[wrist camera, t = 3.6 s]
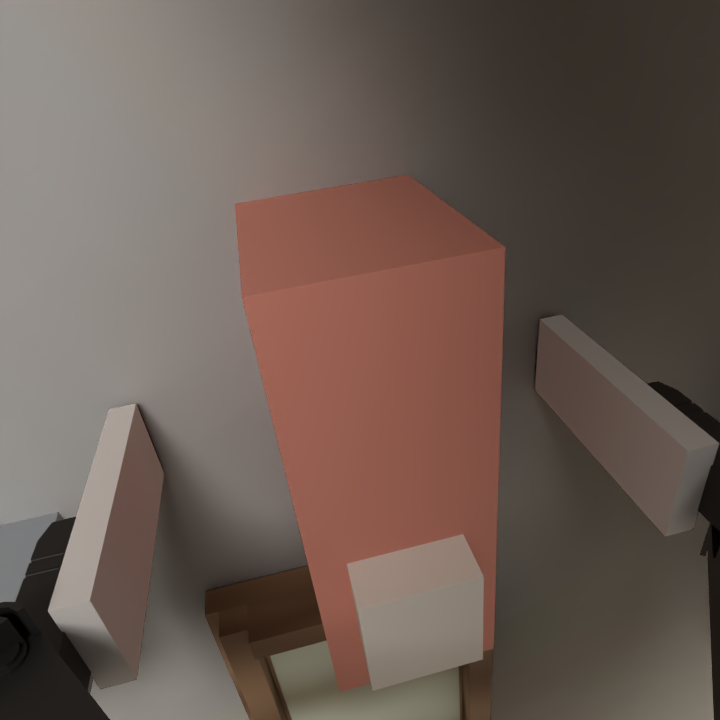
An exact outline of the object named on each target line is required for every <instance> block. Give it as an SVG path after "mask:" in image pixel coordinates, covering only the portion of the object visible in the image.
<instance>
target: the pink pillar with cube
mask: <svg viewBox="0 0 720 720" xmlns="http://www.w3.org/2000/svg"><path fill="white" fill-rule="evenodd" d="M235 207H236V221H237V235H238V249H239V262H240V276H241V290H242V299H243V303H244V307H245V311H246V315H247V319H248V323H249V327H250V331H251V336H252V340H253V344H254V348H255V352H256V356H257V360H258V364H259V368H260V372H261V376H262V380H263V384H264V388H265V392H266V396H267V400H268V404H269V408H270V413H271V417H272V421H273V425H274V429H275V433H276V437H277V441H278V445H279V449H280V453H281V457H282V461H283V465H284V469H285V473H286V477H287V481H288V485H289V490H290V494H291V498H292V502H293V506H294V510H295V514H296V518H297V522H298V526H299V530H300V534H301V538H302V542H303V546H304V550H305V554H306V558H307V562H308V567H309V571H310V575H311V579H312V583H313V587H314V591H315V595H316V599H317V603H318V607H319V611H320V615H321V619H322V623H323V627H324V631H325V635H326V639H327V644H328V648H329V652H330V656H331V660H332V664H333V668H334V672H335V676H336V680H337V684H338V688H339V692H342V691H346V690H349V689H353V688H357V687H360V686H364V685H367V684H371V686H372V690H373V691H374V690H378V689H381V688H385V687H388V686H392V685H395V684H399V683H402V682H406V681H409V680H413V679H416V678H420V677H423V676H427V675H430V674H434V673H437V672H441V671H444V670H448V669H451V668H455V667H458V666H462V665H465V664H469V663H472V662H476V661H479V660H483V651H487V650H490V649H494V626H495V591H496V557H497V523H498V488H499V454H500V419H501V385H502V351H503V316H504V282H505V246H503V245H502V244H501V243H499V242H498V241H497V240H495V239H494V238H493V237H491V236H490V235H489V234H487V233H486V232H485V231H483V230H482V229H480V228H479V227H478V226H476V225H475V224H474V223H472V222H471V221H470V220H468V219H467V218H466V217H464V216H463V215H462V214H460V213H459V212H458V211H456V210H455V209H454V208H452V207H451V206H450V205H448V204H447V203H446V202H444V201H443V200H442V199H440V198H439V197H438V196H436V195H435V194H433V193H432V192H431V191H429V190H428V189H427V188H425V187H424V186H423V185H421V184H420V183H419V182H417V181H416V180H415V179H413V178H412V177H411V176H409V175H403V176H398V177H392V178H386V179H380V180H374V181H368V182H362V183H356V184H350V185H344V186H338V187H332V188H326V189H321V190H315V191H309V192H303V193H297V194H291V195H285V196H279V197H273V198H267V199H261V200H255V201H249V202H244V203H238V204H235Z"/></svg>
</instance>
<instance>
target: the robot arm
mask: <svg viewBox="0 0 720 720" xmlns="http://www.w3.org/2000/svg"><path fill="white" fill-rule="evenodd" d="M535 390H536V391H537V393H538V394H539V395H540V396H541V397H542V398H543V399H544V401H545V402H546V403H547V404H548V405H549V406H550V407H551V408H552V410H553V411H554V412H555V413H556V414H557V415H558V416H559V417H560V419H561V420H562V421H563V422H564V423H565V424H566V425H567V427H568V428H569V429H570V430H571V431H572V432H573V433H574V434H575V436H576V437H577V438H578V439H579V440H580V441H581V442H582V443H583V445H584V446H585V447H586V448H587V449H588V450H589V451H590V453H591V454H592V455H593V456H594V457H595V458H596V459H597V460H598V462H599V463H600V464H601V465H602V466H603V467H604V468H605V469H606V471H607V472H608V473H609V474H610V475H611V476H612V477H613V479H614V480H615V481H616V482H617V483H618V484H619V485H620V486H621V488H622V489H623V490H624V491H625V492H626V493H627V494H628V495H629V497H630V498H631V499H632V500H633V501H634V502H635V503H636V505H637V506H638V507H639V508H640V509H641V510H642V511H643V512H644V514H645V515H646V516H647V517H648V518H649V519H650V520H651V521H652V523H653V524H654V525H655V526H656V527H657V528H658V529H659V531H660V532H661V533H662V534H663V535H664V536H665V537H666V536H670V535H674V534H678V533H681V532H685V531H689V530H693V529H694V525H695V522H696V519H697V515H698V512H700V513H701V514H702V515H703V516H704V517H705V518H706V519H707V520H708V521H709V522H710V525H709V528H708V531H707V534H706V537H705V540H704V543H703V546H702V550H701V553H700V555H703V556H705V555H706V553H707V551H708V577H709V603H710V629H711V655H712V681H713V707H714V720H720V423H719V422H718V421H717V420H715V419H714V418H713V417H712V416H710V415H709V414H708V413H704V412H703V410H702V409H701V408H700V407H699V406H697V405H696V404H695V403H693V404H692V401H691V400H690V399H688V398H687V397H686V396H684V395H683V394H682V393H681V392H679V391H678V390H676V389H674V388H672V387H670V386H667V385H665V384H663V383H660V382H658V381H657V382H652V383H648V384H646V383H645V382H644V381H643V380H641V379H640V378H639V377H638V376H637V375H635V374H634V373H633V372H632V371H630V370H629V369H628V368H627V367H626V366H624V365H623V364H622V363H621V362H619V361H618V360H617V359H616V358H615V357H613V356H612V355H611V354H610V353H608V352H607V351H606V350H605V349H604V348H602V347H601V346H600V345H599V344H597V343H596V342H595V341H594V340H593V339H591V338H590V337H589V336H588V335H586V334H585V333H584V332H583V331H582V330H580V329H579V328H578V327H577V326H575V325H574V324H573V323H572V322H571V321H569V320H568V319H567V318H566V317H564V316H563V315H557V316H552V317H547V318H543V319H540V322H539V337H538V352H537V366H536V381H535ZM163 478H164V472H163V469H162V467H161V464H160V462H159V459H158V457H157V454H156V452H155V449H154V447H153V444H152V442H151V439H150V437H149V434H148V432H147V430H146V427H145V425H144V422H143V420H142V417H141V415H140V412H139V410H138V407H137V405H136V404H131V405H127V406H122V407H117V408H112V409H109V411H108V414H107V417H106V421H105V424H104V427H103V430H102V434H101V437H100V440H99V444H98V447H97V450H96V453H95V457H94V460H93V463H92V467H91V470H90V473H89V476H88V480H87V483H86V486H85V490H84V493H83V496H82V500H81V503H80V506H79V509H78V513H77V516H76V517H73V518H68V519H64V520H60V521H55V522H52V523H51V525H50V526H49V527H48V528H47V529H46V531H45V532H44V533H43V534H42V536H41V537H40V538H39V539H38V541H37V543H36V546H35V549H34V552H33V554H32V557H31V563H29V565H28V568H27V571H26V573H25V576H26V577H25V578H24V579H23V582H22V584H21V587H20V590H19V593H18V595H17V598H16V601H15V602H1V603H0V720H110V719H109V718H108V717H107V715H106V714H105V713H104V712H103V710H102V709H101V708H100V706H99V705H98V704H97V703H96V701H95V700H94V699H93V697H92V696H91V695H90V694H89V692H88V686H89V681H90V676H92V678H93V679H94V681H95V682H96V684H97V685H98V687H99V688H100V689H103V688H107V687H111V686H114V685H118V684H122V683H125V682H129V681H133V680H136V679H137V675H138V667H139V660H140V652H141V645H142V637H143V629H144V622H145V614H146V607H147V599H148V592H149V584H150V577H151V569H152V561H153V554H154V546H155V539H156V531H157V524H158V516H159V509H160V501H161V494H162V486H163Z"/></svg>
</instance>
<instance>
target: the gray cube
mask: <svg viewBox="0 0 720 720" xmlns="http://www.w3.org/2000/svg"><path fill="white" fill-rule="evenodd" d="M60 520H63V519H62V518H61V516H60V514H59V512H57V513H53V514H49V515H44V516H40V517H36V518H31V519H27V520H23V521H18V522H14V523H10V524H5V525H1V526H0V603H1V602H15V601H16V598H17V595H18V593H19V590H20V587H21V584H22V582H23V579H24V578H25V577H26V576H25V573H26V571H27V568H28V565H29V563H31V557H32V554H33V552H34V549H35V546H36V543H37V541H38V539H39V538H40V537H41V536H42V534H43V533H44V532H45V531H46V529H47V528H48V527H49V526H50V525H51V523H52V522H55V521H60ZM92 682H93V678H92V676H90V681H89V686H88V692H89V694H90V692H91V687H92Z"/></svg>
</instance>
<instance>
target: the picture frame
mask: <svg viewBox="0 0 720 720" xmlns="http://www.w3.org/2000/svg"><path fill="white" fill-rule="evenodd" d="M205 617H206V619H207V621H208V624H209V626H210V628H211V631H212V633H213V635H214V638H215V640H216V642H217V645H218V647H219V649H220V651H221V654H222V656H223V658H224V661H225V663H226V665H227V668H228V670H229V672H230V675H231V677H232V679H233V682H234V684H235V686H236V689H237V691H238V693H239V696H240V698H241V700H242V703H243V705H244V707H245V710H246V712H247V714H248V717H249V719H250V720H491V696H492V662H493V649H490V650H487V651H483V660H479V661H476V662H472V663H469V664H465V665H462V666H458V667H455V668H451V669H448V670H444V671H441V672H437V673H434V674H430V675H427V676H423V677H420V678H416V679H413V680H409V681H406V682H402V683H399V684H395V685H392V686H388V687H385V688H381V689H378V690H374V691H373V690H372V686H371V684H367V685H364V686H360V687H357V688H353V689H349V690H346V691H342V692H339V688H338V684H337V680H336V676H335V672H334V668H333V664H332V660H331V656H330V652H329V648H328V644H327V639H326V635H325V631H324V627H323V623H322V619H321V615H320V611H319V607H318V603H317V599H316V595H315V591H314V587H313V583H312V579H311V575H310V571H309V567H308V566H304V567H300V568H296V569H292V570H288V571H284V572H281V573H277V574H273V575H269V576H265V577H261V578H257V579H253V580H249V581H245V582H241V583H237V584H233V585H229V586H225V587H221V588H217V589H213V590H209V591H206V598H205Z"/></svg>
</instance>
